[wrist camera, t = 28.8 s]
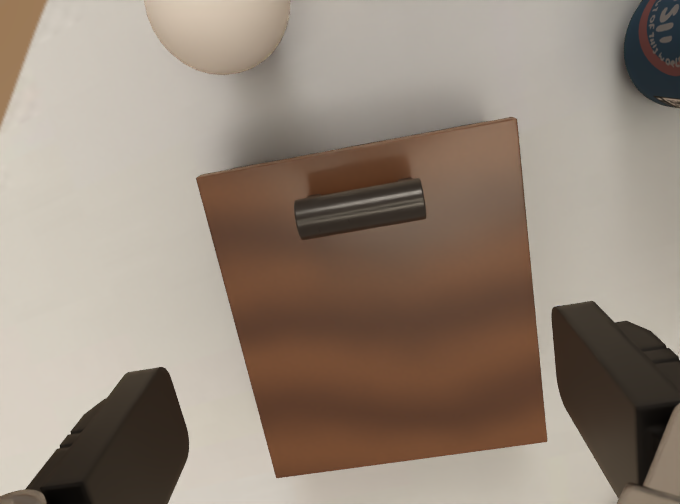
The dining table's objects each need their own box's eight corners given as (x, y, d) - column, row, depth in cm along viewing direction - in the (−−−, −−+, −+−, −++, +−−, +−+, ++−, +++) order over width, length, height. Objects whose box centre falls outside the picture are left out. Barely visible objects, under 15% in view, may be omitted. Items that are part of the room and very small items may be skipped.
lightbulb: (297, 80, 33) (268, 89, 23) (192, 61, 33) (115, 61, 23) (314, -35, 31) (290, -83, 21) (203, -57, 31) (123, -115, 21)
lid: (199, 174, 29) (168, 196, 24) (512, 116, 28) (544, 127, 23) (277, 469, 34) (264, 534, 30) (543, 433, 33) (573, 495, 28)
